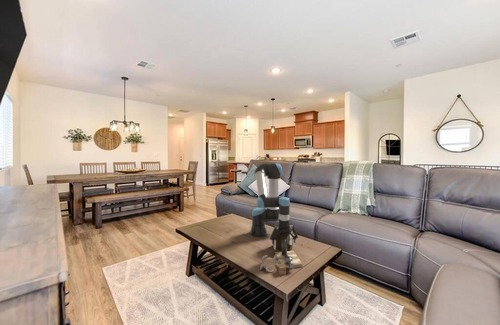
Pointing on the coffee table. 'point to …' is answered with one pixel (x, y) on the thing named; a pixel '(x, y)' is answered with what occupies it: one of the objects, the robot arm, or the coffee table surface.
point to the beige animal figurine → (269, 263)
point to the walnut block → (281, 269)
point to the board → (291, 253)
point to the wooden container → (283, 236)
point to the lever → (284, 252)
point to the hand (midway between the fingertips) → (283, 248)
